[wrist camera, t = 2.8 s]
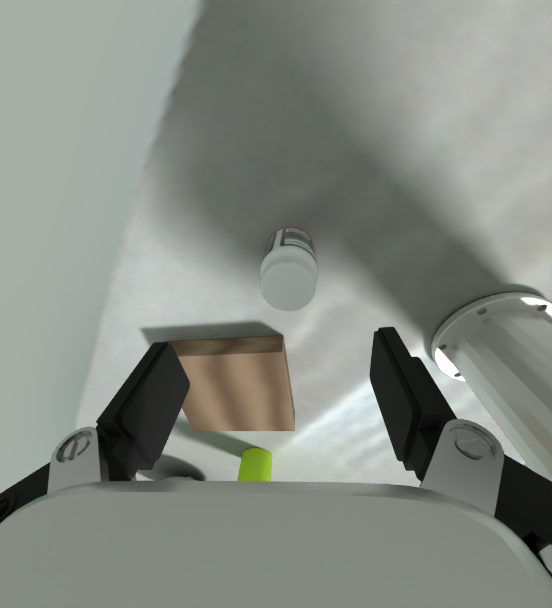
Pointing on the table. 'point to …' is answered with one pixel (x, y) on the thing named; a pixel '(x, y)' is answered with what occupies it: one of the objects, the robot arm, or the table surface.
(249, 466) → the soap dispenser
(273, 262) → the pill bottle
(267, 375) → the stand
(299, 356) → the table surface
